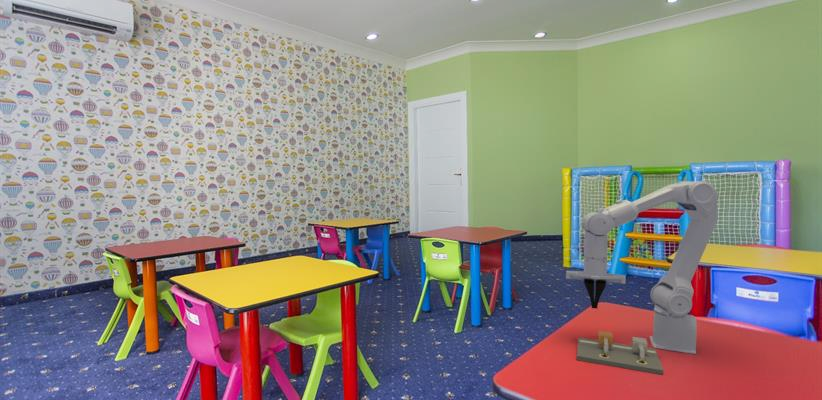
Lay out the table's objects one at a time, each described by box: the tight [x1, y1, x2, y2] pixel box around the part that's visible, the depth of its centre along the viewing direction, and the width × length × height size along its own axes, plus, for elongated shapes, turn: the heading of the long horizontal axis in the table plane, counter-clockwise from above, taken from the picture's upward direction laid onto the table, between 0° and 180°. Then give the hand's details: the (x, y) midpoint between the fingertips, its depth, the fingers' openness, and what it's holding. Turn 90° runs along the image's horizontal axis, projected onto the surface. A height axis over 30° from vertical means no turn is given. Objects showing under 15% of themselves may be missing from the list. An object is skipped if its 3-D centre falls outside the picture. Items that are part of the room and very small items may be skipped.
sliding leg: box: [598, 330, 613, 356], centre depth 102 cm, size 3×8×3 cm, turn 156°
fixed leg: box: [631, 336, 648, 362], centre depth 99 cm, size 3×8×3 cm, turn 156°
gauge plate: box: [576, 337, 664, 375], centre depth 102 cm, size 18×13×2 cm
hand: (594, 307), depth 111 cm, fingers closed
